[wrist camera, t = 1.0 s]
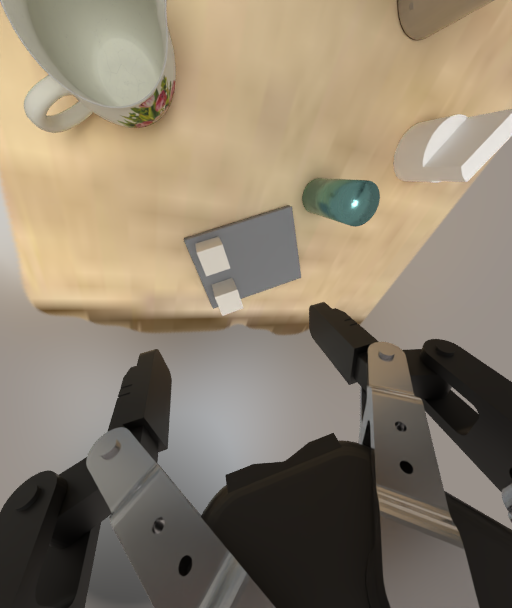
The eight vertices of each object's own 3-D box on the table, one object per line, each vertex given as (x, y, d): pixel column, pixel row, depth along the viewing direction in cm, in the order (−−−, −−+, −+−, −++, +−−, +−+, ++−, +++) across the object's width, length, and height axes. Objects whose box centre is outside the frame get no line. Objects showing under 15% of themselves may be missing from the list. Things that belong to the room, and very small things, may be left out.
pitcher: (21, 86, 24) (-121, 11, 13) (136, -45, 22) (86, -272, 11) (113, 177, 30) (70, 181, 19) (210, 82, 28) (228, 21, 17)
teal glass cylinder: (330, 174, 38) (381, 175, 28) (331, 208, 41) (377, 219, 31) (300, 183, 37) (342, 187, 28) (304, 216, 41) (342, 231, 31)
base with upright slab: (426, 107, 37) (515, 83, 27) (443, 150, 41) (524, 143, 31) (385, 156, 39) (453, 151, 29) (405, 192, 44) (470, 197, 34)
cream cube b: (218, 236, 37) (222, 244, 33) (225, 258, 39) (230, 268, 35) (195, 243, 36) (196, 252, 32) (204, 265, 38) (206, 276, 34)
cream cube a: (232, 277, 41) (237, 289, 37) (238, 295, 43) (243, 308, 39) (211, 284, 41) (214, 297, 37) (218, 302, 43) (222, 315, 39)
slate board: (288, 205, 39) (291, 206, 37) (298, 274, 46) (301, 277, 45) (184, 238, 37) (184, 240, 36) (212, 304, 45) (213, 308, 43)
